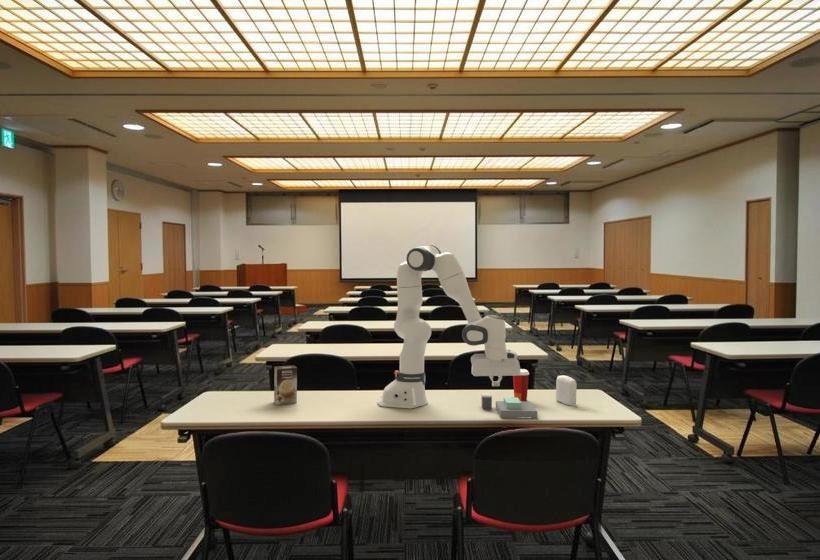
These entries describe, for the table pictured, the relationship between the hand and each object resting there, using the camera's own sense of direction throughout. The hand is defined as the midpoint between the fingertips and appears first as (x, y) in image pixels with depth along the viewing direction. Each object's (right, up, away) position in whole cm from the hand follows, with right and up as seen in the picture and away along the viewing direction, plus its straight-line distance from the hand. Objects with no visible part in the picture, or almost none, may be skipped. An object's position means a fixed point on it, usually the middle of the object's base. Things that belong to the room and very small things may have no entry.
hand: (495, 385), depth 210 cm
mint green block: (+7, -9, 0) cm, 11 cm away
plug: (-3, -11, +8) cm, 14 cm away
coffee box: (-93, -11, +15) cm, 94 cm away
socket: (+8, -12, 0) cm, 14 cm away
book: (+34, -11, +15) cm, 39 cm away
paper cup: (+15, -11, +19) cm, 26 cm away
